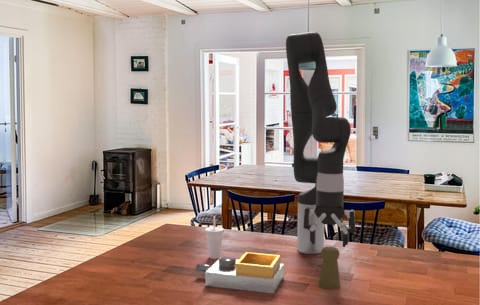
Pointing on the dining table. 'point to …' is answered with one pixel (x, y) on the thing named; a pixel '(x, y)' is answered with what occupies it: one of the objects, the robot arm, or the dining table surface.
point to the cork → (329, 268)
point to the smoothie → (214, 240)
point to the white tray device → (245, 272)
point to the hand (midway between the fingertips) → (328, 244)
